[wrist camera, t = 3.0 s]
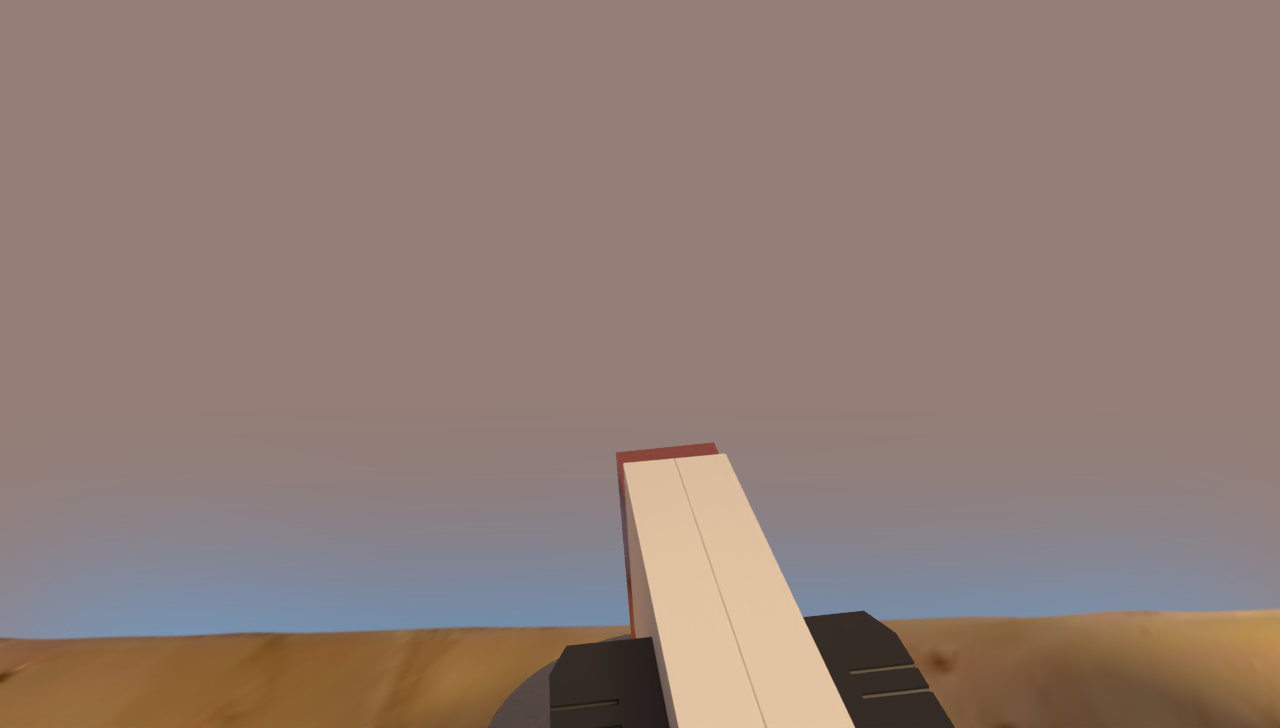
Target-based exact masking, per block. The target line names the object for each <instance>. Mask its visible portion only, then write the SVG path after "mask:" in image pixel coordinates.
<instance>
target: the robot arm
mask: <svg viewBox="0 0 1280 728" xmlns="http://www.w3.org/2000/svg"><path fill="white" fill-rule="evenodd" d="M623 470H624V484H625V499H626V513H627V528H628V542H629V557H630V571H631V586H632V600H633V615H634V628H635V634H636V638H635V639H626V640H617V641H608V642H598V643H589V644H580V645H571V646H566V648H565V649H564V651H563V653H562V654H561V656H560V658H559V659H558V661H557V663H556V664H555V666H554V668H553V669H552V671H551V673H550V674H549V691H550V728H955V727H954V726H953V724H952V722H951V721H950V719H949V718H948V716H947V714H946V713H945V711H944V710H943V708H942V706H941V705H940V703H939V701H938V700H937V698H936V697H935V695H934V693H933V692H930V691H929V685H928V684H927V682H926V681H925V679H924V677H923V676H922V674H921V673H920V671H919V669H918V668H915V666H914V661H913V660H912V658H911V656H910V655H909V653H908V652H907V650H906V648H905V647H904V645H903V644H902V642H901V640H900V639H899V637H898V636H897V634H896V633H895V632H893V631H892V630H891V629H889V628H888V627H886V626H885V625H883V624H882V623H881V622H879V621H878V620H876V619H875V618H873V617H872V616H871V615H869V614H868V613H866V612H865V611H857V612H848V613H839V614H830V615H821V616H811V617H803V616H802V614H801V612H800V610H799V608H798V606H797V604H796V602H795V600H794V597H793V595H792V593H791V591H790V589H789V587H788V585H787V583H786V581H785V578H784V576H783V574H782V572H781V570H780V568H779V566H778V564H777V562H776V559H775V558H774V555H773V553H772V551H771V549H770V547H769V545H768V543H767V540H766V538H765V536H764V534H763V532H762V530H761V528H760V526H759V523H758V521H757V519H756V517H755V515H754V513H753V511H752V509H751V507H750V504H749V502H748V500H747V498H746V497H745V494H744V492H743V490H742V488H741V486H740V483H739V482H738V479H737V477H736V475H735V473H734V471H733V469H732V466H731V464H730V462H729V460H728V458H727V456H726V454H715V455H705V456H694V457H683V458H673V459H662V460H651V461H641V462H630V463H623Z"/></svg>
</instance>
